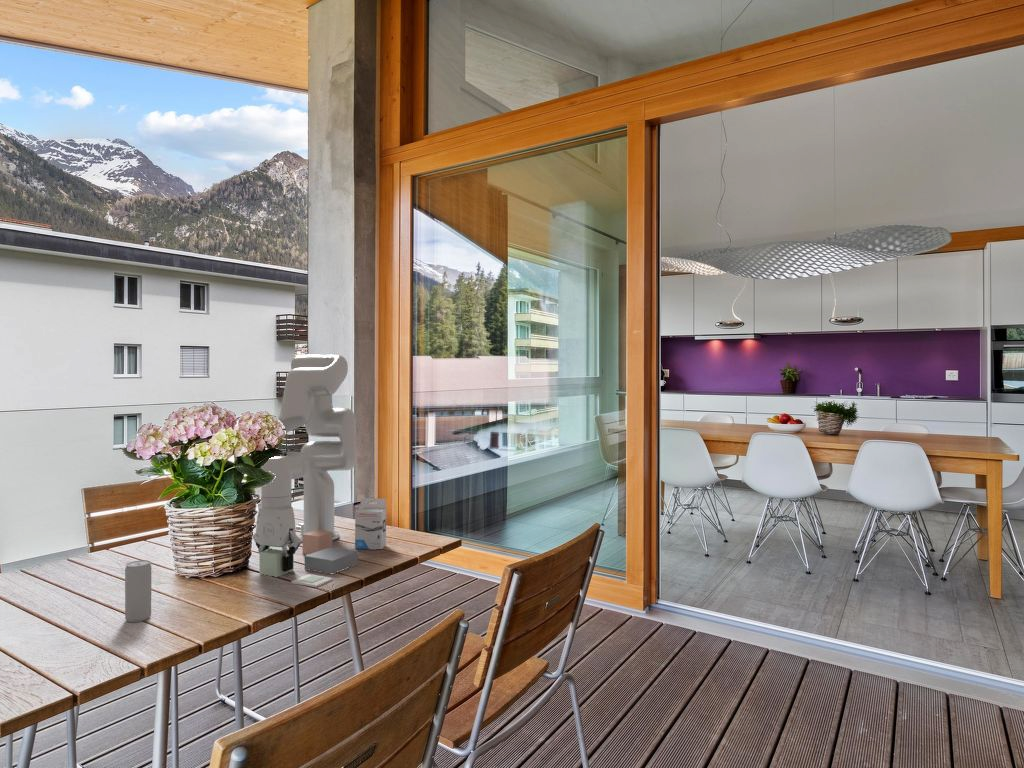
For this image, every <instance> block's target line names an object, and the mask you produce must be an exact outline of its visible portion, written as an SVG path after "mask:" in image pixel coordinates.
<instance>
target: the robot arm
mask: <svg viewBox="0 0 1024 768" xmlns="http://www.w3.org/2000/svg"><path fill="white" fill-rule="evenodd" d="M290 368H291V370H289V372H287V374H286V375H287V376H286V379H285V385H284V390H283V395H282V403H281V407H280V413H279V416H278V417H277V418H278V419H279V420H280V421H281V422H282V423H283V425H284V426H285V429H286V434H288V433H290V432H291V431H294V430H295V429H298V428H300V427H303V426H304V425H305V426H304V427H305V431H306V433H307V434H308V436H310V437H313V438H314V437H315V438H317V437H318V438H339V440H314V441H313V440H312V441H309V442H306V443H305V444H303V446H302V448H301V449H300V451H286V452H287V453H286V454H287V455H286V456H281V455H280V456H274V457H271V458H269V459H268V461H267V462H266V463H265V464H264V466H261V468H262V469H263V470H265V472H267V471H271V473H274V474H276V478H275V479H274V480H273V482H271V483H269V484H267V485H266V486H263V487H261V489H260V491H261V496H260V498H261V500H260V501H261V506H260V507H258V512H257V517H256V518H257V519H256V524H255V525H256V527H255V529H256V530H255V533H253V535H252V540H253V541H254V542H255V545H256V547H257V549H258V550H257V551H258V553H259V554H260V552H261V551H264V550H267V549H270V548H273V547H281V548H282V550H283V553H284V555H285V556H283V558H282V570H283V571H284V572H286V571H288V570H291V569H293V554H294V555H295V554H296V552H297V550H298V549H299V547H300V546H301V544H303V534H305V533H308V532H311V531H314V530H323V531H331V532H332V541H334V540H337V539H339V537H340V532H339V531H337V530H335V483H334V480H333V478H332V476H331V475H330V473H328V471H331V472H333V471H336V472H337V471H342V472H343V471H350V470H352V469H353V468H354V467H355V466H356V463H357V420H356V416H355V412H354V411H353V410H352V409H350V408H349V407H348V408H346V407H334V406H333V394H335V393H336V392H337V391H338V389H340V386H342V384H343V382H344V381H345V379H346V377H347V375H348V371H349V370H348V369H349V366H348V361H347V360H346V358H345V357H344V356H342V355H341V354H302V355H301V354H300V355H297V356H294V357H293V358H292V359H291V362H290ZM301 478H302V479H303V522H299V523H298V524H297V525H296V519H295V512H294V508H293V506H292V504H293V503H292V500H293V499H292V497H293V495H292V480H298V479H301ZM296 531H300V532H301V533H300V534H299V535H297V533H296ZM287 548H289V550H288V549H287Z"/></svg>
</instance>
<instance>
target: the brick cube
mask: <svg viewBox="0 0 1024 768" xmlns="http://www.w3.org/2000/svg"><path fill="white" fill-rule="evenodd" d="M329 547H333V540H332V532H331V531H323V530H314V531H311V532H308V533H305V534H303V542H302V555H304V554H311V553H314V552H317V551H320V550H323V549H326V548H329Z"/></svg>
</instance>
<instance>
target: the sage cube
mask: <svg viewBox="0 0 1024 768" xmlns="http://www.w3.org/2000/svg"><path fill="white" fill-rule="evenodd" d="M287 549H288V550H289V548H288V547H287ZM294 555H295V554H293V569H291V570H288V571H286V572H284V571H283V570H282V558H283V556H285V555H284V553H283V550H282V548H281V547H270V549H267V550H264V551H261V552H260V553H259V575H260V574H264V575H263V576H266V575H268V576H267V577H272V576H274V577H273V578H278V576H279V577H281V576H284V575H286V574H289V573H292V572H293V570H294V566H295V565H294V558H295V557H294ZM294 571H295V570H294ZM288 572H289V573H288ZM283 574H284V575H283Z"/></svg>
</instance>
